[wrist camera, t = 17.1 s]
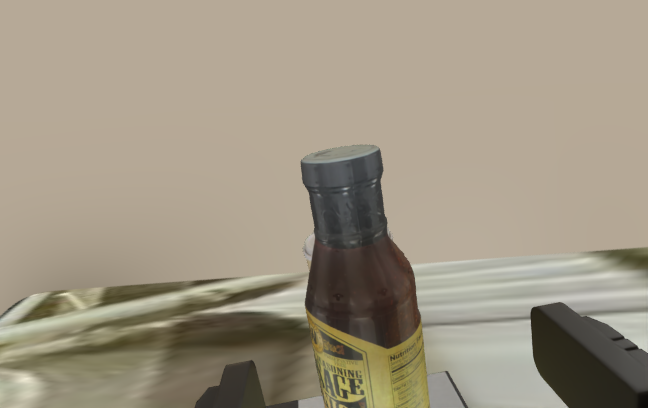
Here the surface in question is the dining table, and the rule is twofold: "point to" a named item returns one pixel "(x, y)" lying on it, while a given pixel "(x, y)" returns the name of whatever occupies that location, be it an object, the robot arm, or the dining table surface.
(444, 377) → the kitchen scale
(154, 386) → the dining table surface
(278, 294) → the dining table surface
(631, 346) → the robot arm
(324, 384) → the sauce bottle
